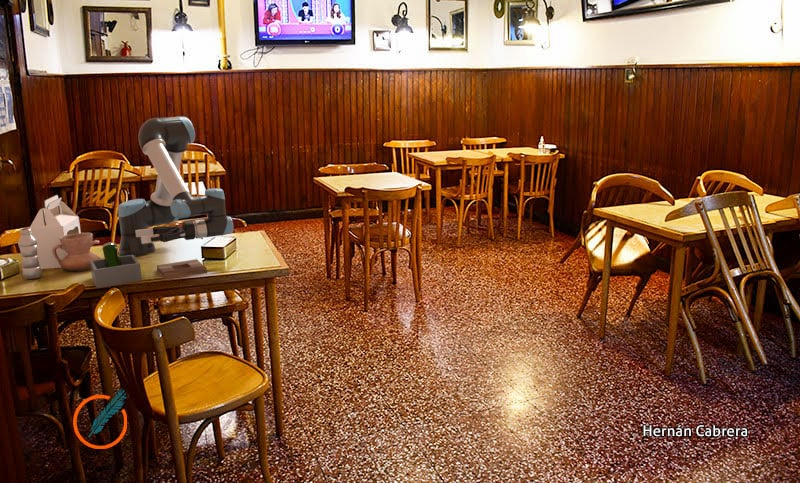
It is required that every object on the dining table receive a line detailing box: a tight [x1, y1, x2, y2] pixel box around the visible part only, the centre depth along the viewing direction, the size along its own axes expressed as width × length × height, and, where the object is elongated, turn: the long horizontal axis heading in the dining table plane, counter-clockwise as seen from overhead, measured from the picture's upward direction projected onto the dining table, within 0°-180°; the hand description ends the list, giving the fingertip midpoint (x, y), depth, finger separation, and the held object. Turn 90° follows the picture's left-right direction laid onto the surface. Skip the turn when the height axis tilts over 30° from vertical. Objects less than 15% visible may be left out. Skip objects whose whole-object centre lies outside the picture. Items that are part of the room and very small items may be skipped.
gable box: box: [29, 194, 82, 270], centre depth 282 cm, size 22×13×28 cm, turn 10°
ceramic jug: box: [52, 232, 102, 272], centre depth 272 cm, size 18×14×14 cm
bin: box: [90, 255, 143, 289], centre depth 256 cm, size 16×16×7 cm
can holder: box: [156, 258, 208, 280], centre depth 265 cm, size 16×16×2 cm
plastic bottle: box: [17, 227, 43, 280], centre depth 258 cm, size 6×7×20 cm
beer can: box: [102, 241, 121, 268], centre depth 258 cm, size 5×5×12 cm
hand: (138, 236), depth 258 cm, fingers open, 13 cm apart
